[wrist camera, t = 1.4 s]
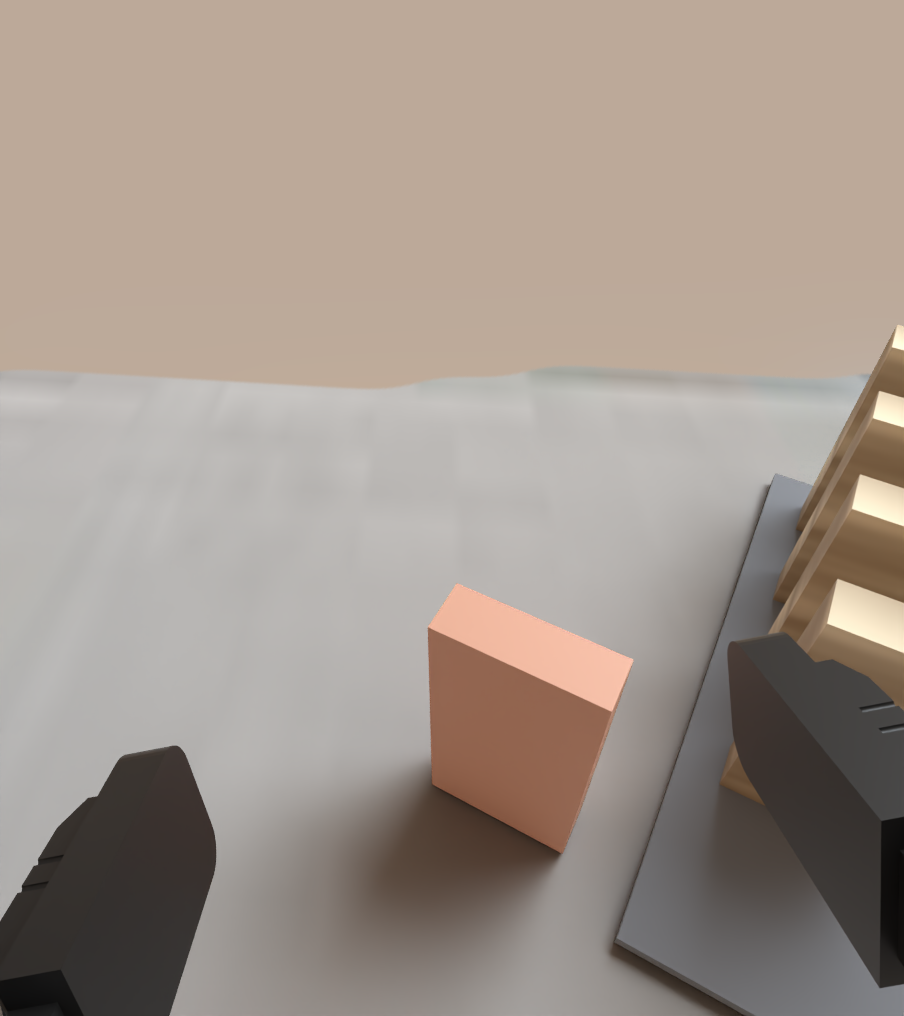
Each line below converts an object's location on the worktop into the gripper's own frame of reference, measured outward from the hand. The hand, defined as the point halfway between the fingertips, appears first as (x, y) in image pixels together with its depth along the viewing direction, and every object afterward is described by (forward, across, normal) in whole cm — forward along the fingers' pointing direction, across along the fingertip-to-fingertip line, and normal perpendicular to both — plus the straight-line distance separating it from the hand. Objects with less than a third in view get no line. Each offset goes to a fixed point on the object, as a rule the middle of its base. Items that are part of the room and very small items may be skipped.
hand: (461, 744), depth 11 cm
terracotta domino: (+12, 0, +12) cm, 17 cm away
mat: (+15, -12, +12) cm, 23 cm away
